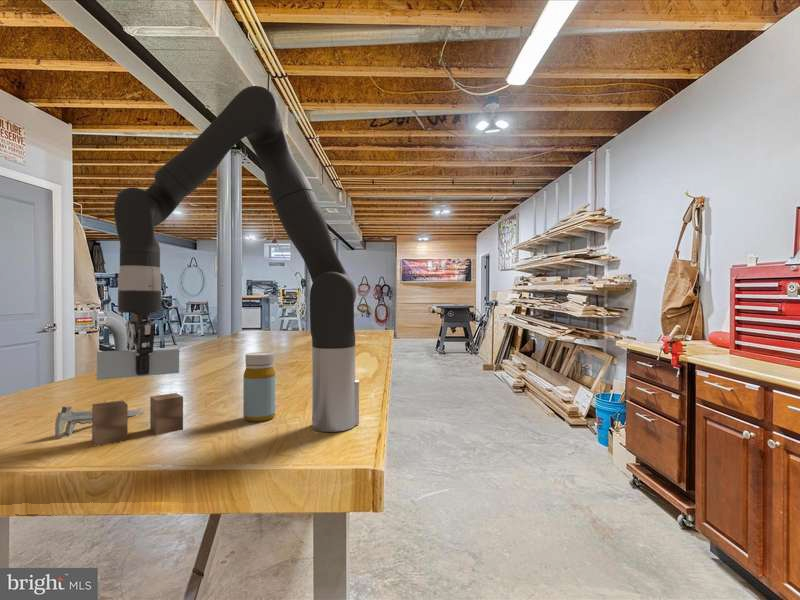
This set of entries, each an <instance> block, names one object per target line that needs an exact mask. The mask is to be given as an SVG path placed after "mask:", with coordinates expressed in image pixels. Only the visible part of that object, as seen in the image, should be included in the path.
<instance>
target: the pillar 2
mask: <svg viewBox="0 0 800 600" xmlns="http://www.w3.org/2000/svg"><path fill="white" fill-rule="evenodd" d="M149 398H150V400H149V404H150V407H149V408H150V409H149V413H150V415H149V417H150V419H149V423H150V429H149V430H150V431H152V433H154V434H155V435H156V436H157V435H162V434H163V435H164V434H167V433H174V432H177V431H178V430H179V431H184V396H182V395H181V394H178V393H177V392H174V393H167V394H165V393H164V394H158V395H157V394H156V395H152V396H151V395H150V397H149ZM179 431H178V432H179Z"/></svg>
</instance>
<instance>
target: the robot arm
mask: <svg viewBox="0 0 800 600" xmlns="http://www.w3.org/2000/svg"><path fill="white" fill-rule="evenodd" d="M282 119H283V118H282V116H281V111H280V106H279V104H278V100H277V99H276V97H275V95H274V94H273V92H272V91H270V90H269V89H267V88H266V87H263V86H260V85H251V86H246V87H245V88H243V89H242V90H240V92H239V93H237V94H236V95H235V96H234V97H233V98H232V100H231V101H230V102H229V103H228V104H227V106H226V107H225V108H224V109H223V110H222V111H221V112H220V113H219V114H218V115H217V116H216V118H215V119H213V120H212V122H211V123H210V124H209V125H208V126H207V127H206V128H205V129H204V130H203V131H202V132H201V133H200V135H198V136H197V137H196V138H195V139H194V140H193V141H191V143H190V144H189V145H188V146H186V147H185V148H184V149H183V150H181V151H180V152H179V153H178V154H175V156H174V157H172V158H171V159H170V160H169V161H167V162H166V163H165V164H164V165H163V166H161V167H160V168H159V169H157V171H156V172H155V173H154V182H153V183H152V184H150V186H149V187H148V188H147V189H146V190H144V189H142V188H140V187H127V188H124V189H122V190H121V191H120V192H119V193H118V194H117V195H116V197H115V201H114V204H113V214H114V215H113V216H114V222H115V226H116V231H117V236H118V240H119V245H120V246H119V271H118V276H117V277H118V278H117V311H118V313H124V314H126V313H127V314H128V313H129V314H130V316H129V321H127V322H126V323H125V329H126V349H127V350H135V355H136V374H137V375H146V374H148V373H149V355H151V353H153V349H154V342H155V330H156V325H155V323H154V322H153V321H152V320H151V315H150V314H152V313H160V312H161V311H162V275H161V247H160V244H159V242H158V241H157V239H156V236H155V227H157V226H158V225H160V224H162V223H163V222H164V221H165V220H167V219H168V218H169V217H170V215H172V213H173V212H174V211H175V210H176V209H177V207H178V206H179V205H180V204H181V202H182V201H183V199H185V198H186V197H188V196H189V195H190V194H192V192H194V191H195V190H196V189H198V188H199V187H200V186H201V185H203V184H204V183H205V182H206V181H207V180H208V179H209V178H210V177H211V176H212V175H213V174H214V173H215V171H216V170H217V168H218V167H219V166H220V164H221V162H222V161H223V160H224V158H225V157H226V155H227V154H228V153H229V152H230V151H231V150H232V149H233V147H235V145H237V143H238V142H240V141H242V139H244V138H245V137H246V139H247V141H248V142H249V144H250V146H251V147H252V149H253V151H254V153H255V156H256V157H257V158H258V161H259V164H260V165H261V167H262V170H263V174H264V178H265V182H266V186H267V190H268V193H269V196H270V199H271V202H272V205H273V207H274V209H275V212H276V214H277V218H278V219H279V221H280V223H281V225H282V227H283V228H284V232H285V233H286V234H287V236H288V237H289V239H290V241H291V243H292V244H293V246H294V247H295V249H296V250H297V252H298V253H299V254H300V256H301V258H302V259H303V262H304V264H305V266H306V268H307V270H308V274H309V277H310V279H311V280H310V281H311V282H312V283H311V287H310V288H309V289H310V290H309V331H310V335H311V342H312V343H311V362H312V363H311V371H312V372H311V378H312V379H311V390H312V393H311V394H312V395H311V409H312V410H311V413H312V414H311V416H312V417H311V425H312V429H314V430H315V431H319V432H325V433H329V432H330V433H334V432H335V433H337V432H343V431H347V430H351V429H353V428H354V427H355V426H357V425H360V382H359V380H358V379H356V332H355V302H356V299H357V291H356V286H355V284H354V282H353V281H352V279H351V278H350V276H349V274H348V273H347V271H346V269H345V267H344V265H343V264H342V261H341V260H340V258H339V256H338V253H337V251H336V250H335V247H334V244H333V241H332V238H331V237H332V236H331V234H330V231H329V227H328V225H327V221H326V219H325V216H324V213H323V211H322V208H321V205H320V203H319V200H318V198H317V196H316V194H315V191H314V189H313V187H312V185H311V183H310V181H309V180H308V178H307V176H306V174H305V173H304V171H303V170H302V168H301V167H300V166H299V163H298V162H297V161H296V159H295V158H294V155H293V153H292V151H291V147H290V146H289V141H288V139H287V136H286V133H285V129H284V128H285V127H284V124H283V120H282Z"/></svg>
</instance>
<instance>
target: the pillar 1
mask: <svg viewBox="0 0 800 600" xmlns="http://www.w3.org/2000/svg"><path fill="white" fill-rule="evenodd" d="M91 407H92V410H91V411H92V423H91V427H92V429H91V433H92V435H91V441H92V440H93V441H92V442H93V444H94V446H95V447H99V446H98V445H101V446H104V445H103V444H106V445H109V444H108V443H111V444H115V443H114V442H116V443H120V441H122V442H125V441H126V440H127V441H128V434H129V433H128V430H129V429H128V427H129V426H128V423H129V421H128V417H129V416H128V410H129V409H128V403H126V402H125V401H124V400H123V399H121V400H115V401H105V402H99V403H93V404H92V405H91Z"/></svg>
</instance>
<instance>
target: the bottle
mask: <svg viewBox="0 0 800 600" xmlns="http://www.w3.org/2000/svg"><path fill="white" fill-rule="evenodd" d="M244 357H245V359H244V360H245V361H244V362H245V370H244V373H243V381H242V382H243V387H242V389H243V395H242V396H243V397H242V398H243V403H242V404H243V405H242V408H243V409H242V411H243V419H244V420H246V422H250V423H261V422H267V421H271V420H273V418H274V417H275V416H276V371H275V368H274V362H275V359H274V352H270V351H256V352H247V353H245V356H244Z"/></svg>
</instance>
